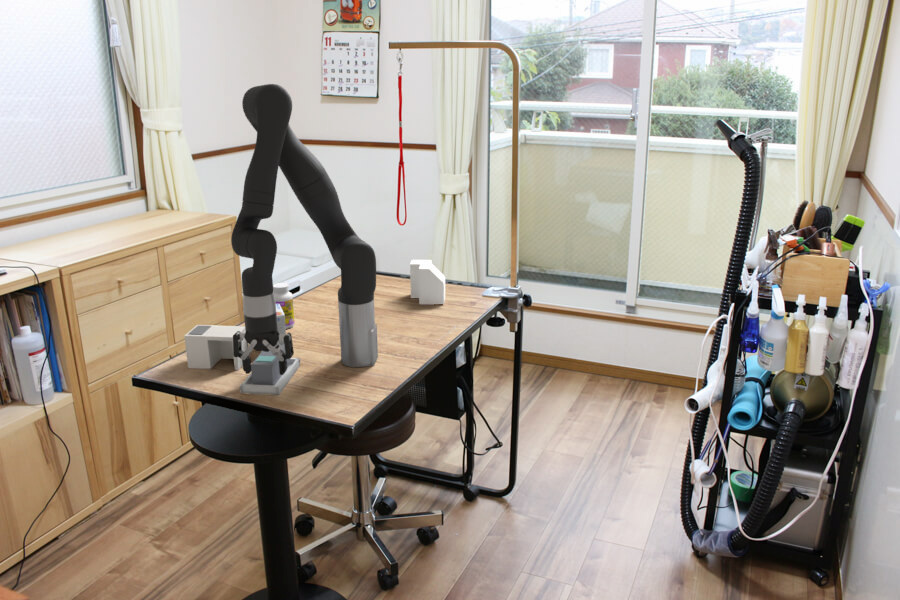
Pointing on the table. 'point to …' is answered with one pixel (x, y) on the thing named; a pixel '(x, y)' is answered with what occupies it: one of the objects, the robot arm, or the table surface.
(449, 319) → the table surface
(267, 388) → the tray
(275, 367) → the slab with teal patch
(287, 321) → the supplement bottle
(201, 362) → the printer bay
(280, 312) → the light bulb box
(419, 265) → the corner bracket
